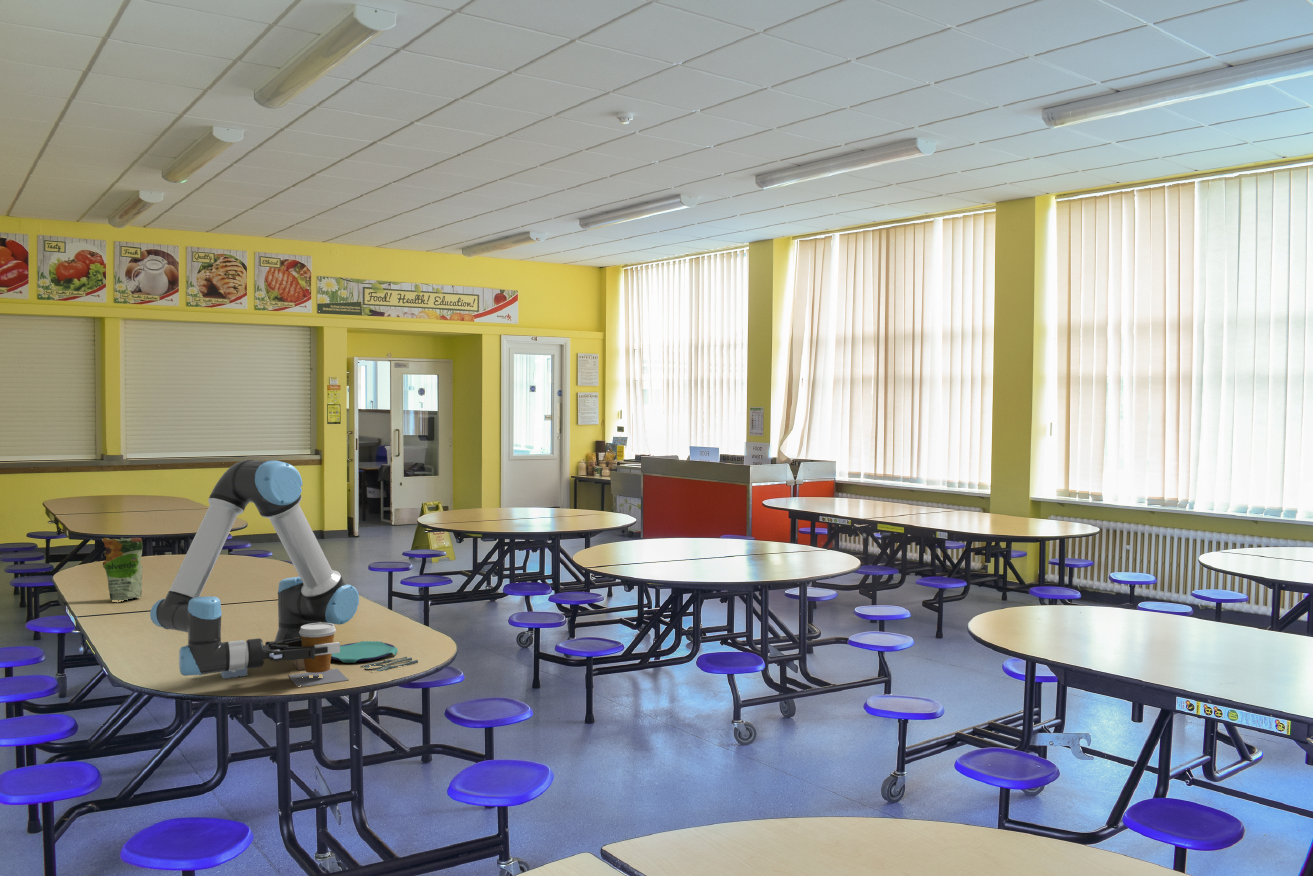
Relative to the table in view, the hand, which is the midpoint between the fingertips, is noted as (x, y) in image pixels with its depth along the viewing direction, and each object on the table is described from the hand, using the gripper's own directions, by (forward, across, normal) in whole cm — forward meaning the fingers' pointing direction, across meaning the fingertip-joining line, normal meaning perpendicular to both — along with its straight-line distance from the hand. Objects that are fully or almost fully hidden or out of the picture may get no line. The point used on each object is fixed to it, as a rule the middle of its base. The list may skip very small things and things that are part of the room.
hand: (335, 644), depth 251 cm
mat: (-5, 0, -9) cm, 10 cm away
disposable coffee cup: (-5, 0, -7) cm, 8 cm away
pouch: (-46, -149, -9) cm, 156 cm away
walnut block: (-5, -14, -9) cm, 17 cm away
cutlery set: (+13, -14, -9) cm, 21 cm away
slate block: (-24, -16, -9) cm, 30 cm away
